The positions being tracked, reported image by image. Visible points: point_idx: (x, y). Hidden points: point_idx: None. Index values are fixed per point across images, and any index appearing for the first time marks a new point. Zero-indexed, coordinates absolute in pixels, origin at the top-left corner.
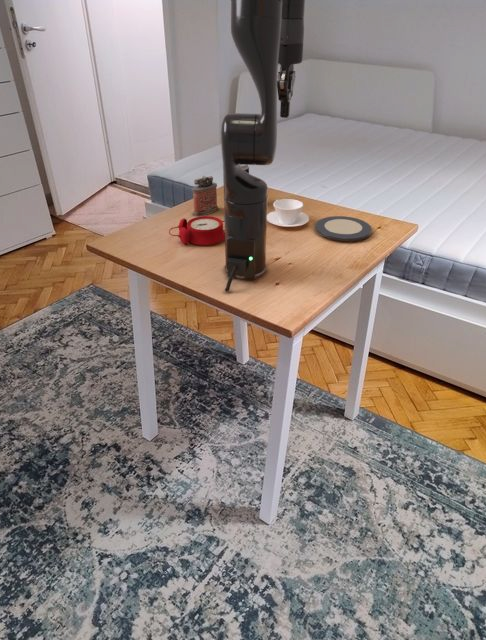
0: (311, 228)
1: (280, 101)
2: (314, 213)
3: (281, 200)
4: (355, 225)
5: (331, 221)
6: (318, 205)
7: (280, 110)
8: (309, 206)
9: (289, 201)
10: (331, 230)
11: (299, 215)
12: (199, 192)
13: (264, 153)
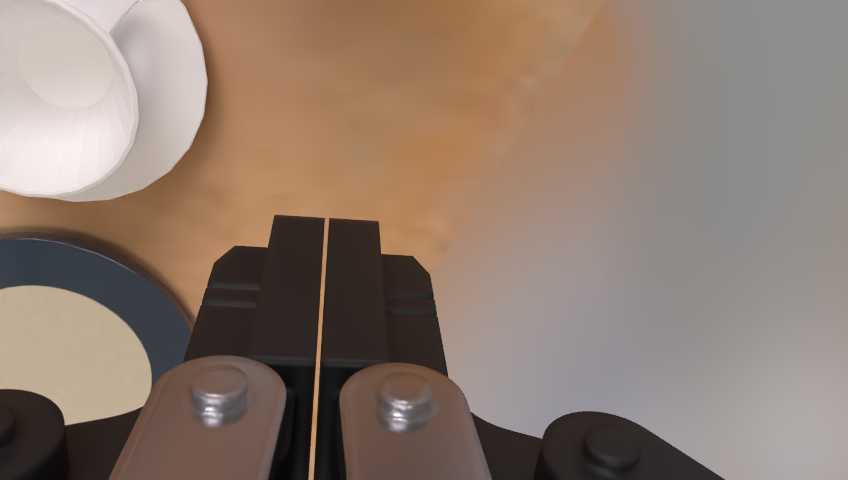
0: (35, 207)
1: (183, 373)
2: (272, 207)
3: (99, 37)
4: (85, 421)
5: (96, 316)
6: (408, 221)
7: (265, 262)
8: (382, 172)
9: (127, 93)
10: None
11: (148, 136)
12: None
13: None
